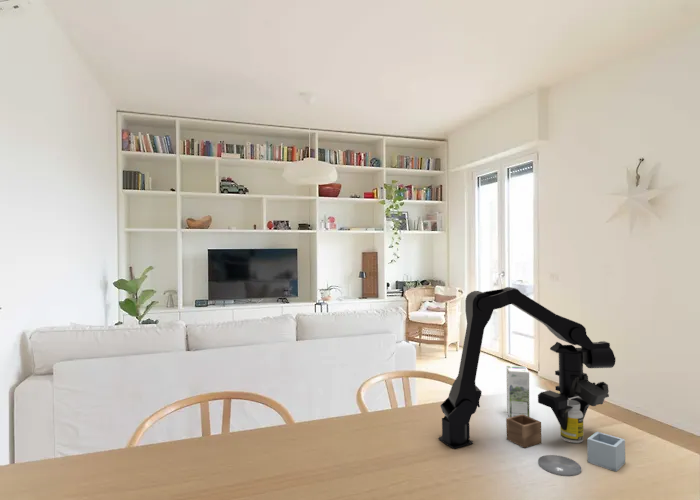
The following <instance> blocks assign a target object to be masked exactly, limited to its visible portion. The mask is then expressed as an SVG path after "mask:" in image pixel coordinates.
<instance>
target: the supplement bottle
mask: <svg viewBox="0 0 700 500" xmlns="http://www.w3.org/2000/svg"><path fill="white" fill-rule="evenodd" d="M568 406H571V407H573V408H572V409H571V410H570V411H568V423H567V430H563V429H562V428H561V426H560V425H559V427H560V428H559V429H560V430H559V431H560V432H559V433H560V438H561V439H562V440H564V441H565V442H568V443H572V444H580V443H582V442H583V441H584V420H583V413H582V412H581V411H580V410H579V409H580V403H579V402H578V401H575V400H571V399H569V401H568Z"/></svg>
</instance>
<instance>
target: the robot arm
mask: <svg viewBox="0 0 700 500" xmlns="http://www.w3.org/2000/svg"><path fill="white" fill-rule="evenodd" d="M509 305H512V306H514V307H516V308H517V309H519V310H520V311H522V312H524V313H525V314H527V315H528V316H530V317H532V318H533V319H535V320H536V321H538V322H540V323H541V324H542V325H544V326H545V327H546V328H547V329H548V330H549V332H551V333H552V334H553V335H554V336H555V337H556V338H557V339H558V340H561V341H563V342H564V343H565V342H566V343H568V344H562V343H560V342H558V341H556V342H555V343H554V344H553V345H552V346H550V348H549V350H550V351H552V352H554V353H556V354H558V369H557V370H555V371H554V372H555V373H554V375H555V376H558V385H556V386H555V390H556V391H557V392H556V391H553V390H546V391H541V392H539V393H538V394H537V403H538V404H540V405H543V406H545V407H548V408H550V409H551V410H552V412H553V414H554V415H555V418H556V420H557V422H558V424H559V427H560V426H561V428H562V429H563V430H567V423H568V411H570V410H571V409H572V408H573V407H571V406H568V401H569V400H575V401H578V402H579V403H580V409H579V410H580V411H581V412H582V413H583V421H584V420H585V419H584V418H585V416H586V414H587V412H588V409H589V407H590V406H591V407H596V406H597V405H603V404H604V402H605V399H606V398H609V397H610V394H609V392H610V391H609V385H608V384H607V383H606V382H604V381H599V382H597V383H596V382H591V381H589V376H588V374H587V373H585V372H584V365H585V367H587V369H612V368H613V367H615V365H616V356H615V353H614V351H613V350H612V348H611V344H610V342H608V341H605V340H603V341H597V342H594V341H592V340H591V338H590V337H589V336H588V334H587V331H586V330H587V329H586V327H585V326H584V325H583V324H581V323H579V322H577V321H574V320H572V319H569V318H566V317H565V316H561V315H558V314H557V313H555V312H553V311H552V310H550V309H549V308H546V307H545V306H543V305H541V304H540V303H539V302H538V301H535V300H534V299H532V298H531V297H529V296H528V295H525V294H524V293H522V292H521V291H520V290H519V289H518V288H515V287H510V286H506V287H503V288H501V289H500V288H499V289H494V290H487V291H483V292H482V291H480V290H473V291H471V292H469V293H468V294H467V295H466V298H465V307H464V308H465V317H466V319H465V320H466V329H465V335H464V339H463V345H462V351H461V352H462V353H461V356H460V362H459V369H458V374H457V377H456V378H455V380H454V382H453V383H452V385H451V387H450V391H449V393H448V397H447V398H446V399H445V400H444V401H443V402H442V403H440V409H441V411H442V413H443V414H444V417H442V418H441V435H442V436H439V437H438V440H439V441H440V442H442V443H444V444H446V445H447V446H448V447H450V448H451V449H454V450H455V449H458V448H462V447H467V446H469V445H473V444H474V442H473V440H471V439H470V435H471V434H470V420H471V418H472V416H473V414H475V413H476V412H477V409H478V408H480V407H481V405H480V400H481V397H482V390H481V389H480V388H479V387H478V386H477V385H476V378H477V372H478V367H479V360H480V356H481V355H480V354H481V349H482V343H483V338H484V331H485V328H486V327H487V325H488V324H489V322H490V320H491V319H492V318H491V317H492V315H493V313H494V310H498V309H501V308H504V307H507V306H509ZM576 346H578V347H576Z"/></svg>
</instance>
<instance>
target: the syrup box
mask: <svg viewBox="0 0 700 500" xmlns="http://www.w3.org/2000/svg"><path fill="white" fill-rule="evenodd" d="M506 412H507V414H508V418H510V417H514V416H518V415H522V414H523V415H526V416H528V417H530V372H529V369H528V368H527V367H526V366H521V365H518V366H516V365H506ZM530 418H531V417H530Z"/></svg>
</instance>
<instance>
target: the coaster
mask: <svg viewBox="0 0 700 500" xmlns="http://www.w3.org/2000/svg"><path fill="white" fill-rule="evenodd" d="M537 463H538V466H539V467H540V468H541V469H542V470H544V471H546V472H548V473H551V474H553V475H556V476H560V477H561V476H563V477H574V476H578V475H579V474H581V473H582V467H581V466H582V465H580V464H579V462H577V461H576V460H574V459H572V458H569V457H566V456H562V455H557V454H545V455H542V456H540V457H539V458H538V460H537Z"/></svg>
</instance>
